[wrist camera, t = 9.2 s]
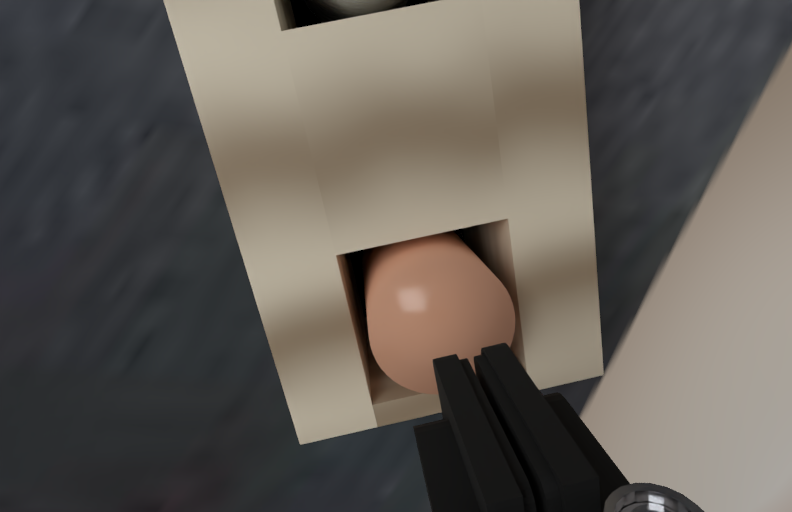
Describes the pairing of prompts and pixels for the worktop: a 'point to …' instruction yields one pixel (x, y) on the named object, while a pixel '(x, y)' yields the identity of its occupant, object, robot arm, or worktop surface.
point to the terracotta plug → (431, 306)
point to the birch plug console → (398, 177)
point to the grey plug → (350, 8)
